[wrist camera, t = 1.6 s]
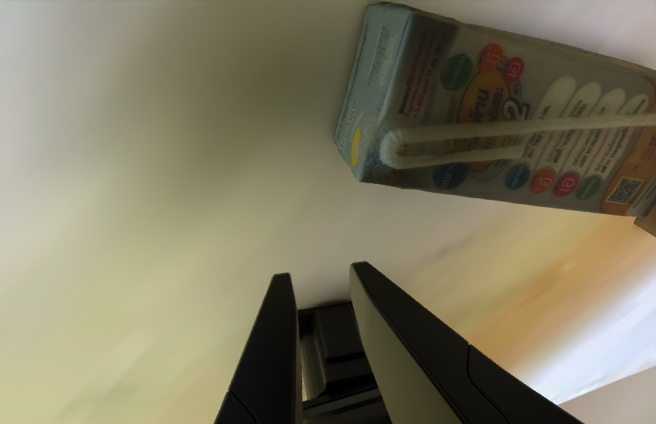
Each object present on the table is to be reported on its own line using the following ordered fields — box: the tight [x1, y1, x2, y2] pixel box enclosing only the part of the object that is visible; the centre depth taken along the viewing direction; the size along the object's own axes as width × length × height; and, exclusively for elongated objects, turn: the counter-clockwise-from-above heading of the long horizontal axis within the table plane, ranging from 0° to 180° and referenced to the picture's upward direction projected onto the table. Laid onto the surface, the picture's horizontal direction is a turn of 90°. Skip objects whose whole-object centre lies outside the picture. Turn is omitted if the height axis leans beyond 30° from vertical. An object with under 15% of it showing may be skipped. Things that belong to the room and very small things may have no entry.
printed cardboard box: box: [334, 2, 656, 218], centre depth 20 cm, size 8×19×6 cm, turn 76°
